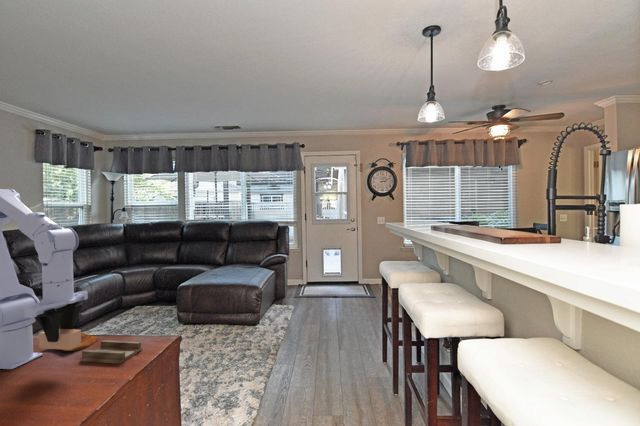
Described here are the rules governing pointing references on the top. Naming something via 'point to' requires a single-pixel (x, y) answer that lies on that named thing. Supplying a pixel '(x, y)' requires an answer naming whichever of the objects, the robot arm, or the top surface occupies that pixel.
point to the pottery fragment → (84, 342)
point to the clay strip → (62, 340)
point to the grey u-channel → (112, 352)
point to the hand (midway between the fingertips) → (59, 338)
